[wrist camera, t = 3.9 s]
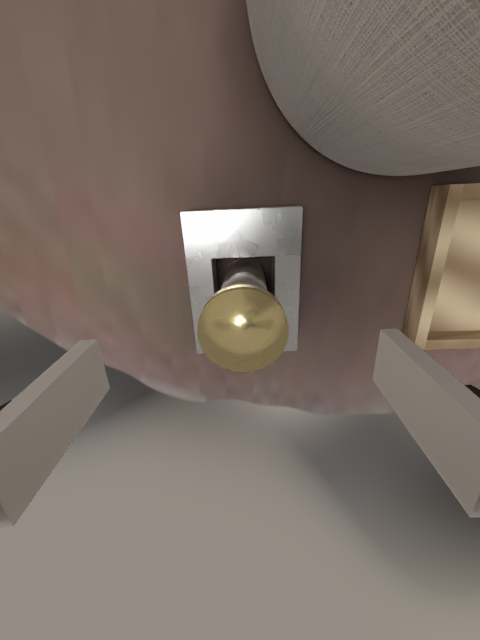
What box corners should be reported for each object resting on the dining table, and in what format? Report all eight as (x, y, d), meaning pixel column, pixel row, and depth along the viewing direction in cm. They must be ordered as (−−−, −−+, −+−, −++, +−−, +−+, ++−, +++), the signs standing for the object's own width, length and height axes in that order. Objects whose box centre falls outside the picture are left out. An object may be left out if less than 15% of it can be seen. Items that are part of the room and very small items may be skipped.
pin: (215, 250, 26) (192, 291, 15) (271, 248, 26) (290, 287, 15) (219, 303, 28) (201, 373, 17) (271, 301, 28) (288, 371, 17)
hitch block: (188, 210, 24) (180, 212, 21) (295, 204, 24) (302, 206, 21) (202, 336, 29) (196, 353, 26) (291, 333, 29) (297, 350, 26)
